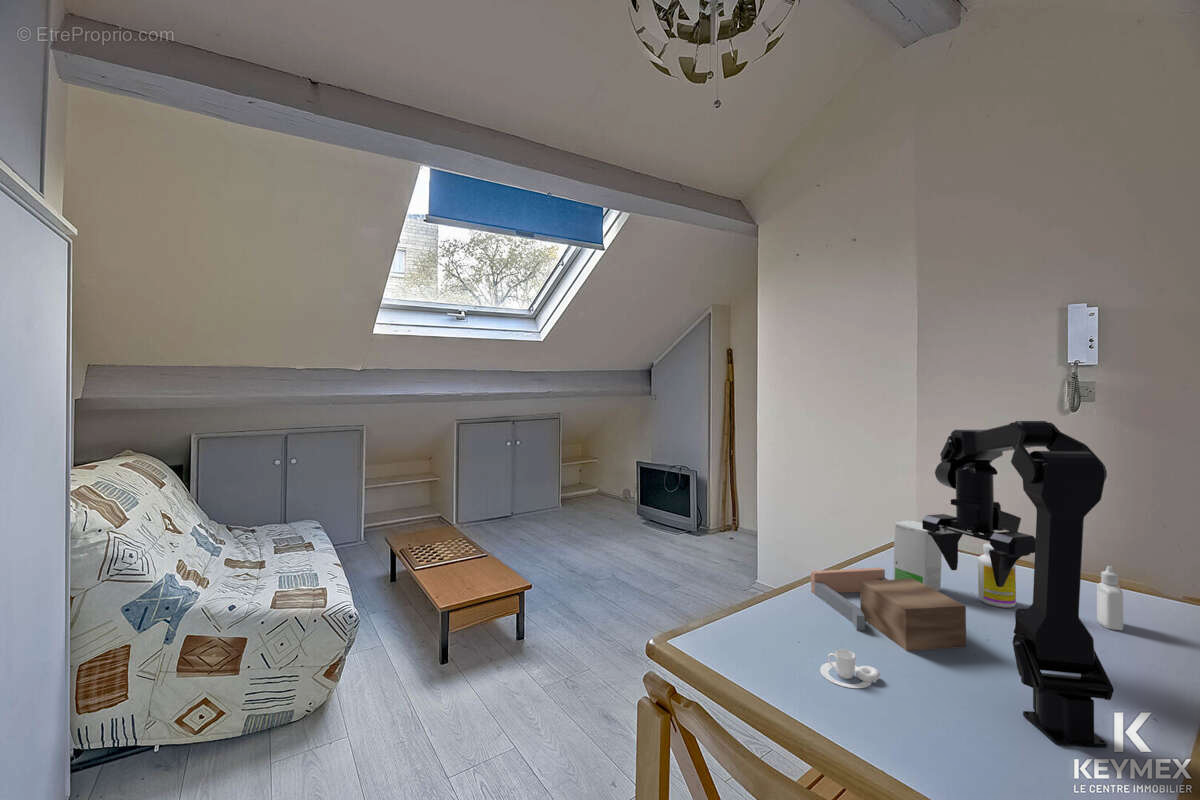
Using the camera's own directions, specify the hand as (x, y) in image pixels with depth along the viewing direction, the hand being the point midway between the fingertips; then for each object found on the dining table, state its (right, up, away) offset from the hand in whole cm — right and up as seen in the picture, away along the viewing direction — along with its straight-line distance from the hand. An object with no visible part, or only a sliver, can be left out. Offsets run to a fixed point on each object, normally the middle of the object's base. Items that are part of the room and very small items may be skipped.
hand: (975, 577), depth 94 cm
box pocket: (-10, -13, +17) cm, 24 cm away
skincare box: (+7, -13, +28) cm, 32 cm away
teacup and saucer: (-29, -14, -12) cm, 34 cm away
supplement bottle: (+19, -13, +19) cm, 30 cm away
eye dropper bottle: (+33, -13, +7) cm, 36 cm away
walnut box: (-9, -13, +6) cm, 17 cm away
